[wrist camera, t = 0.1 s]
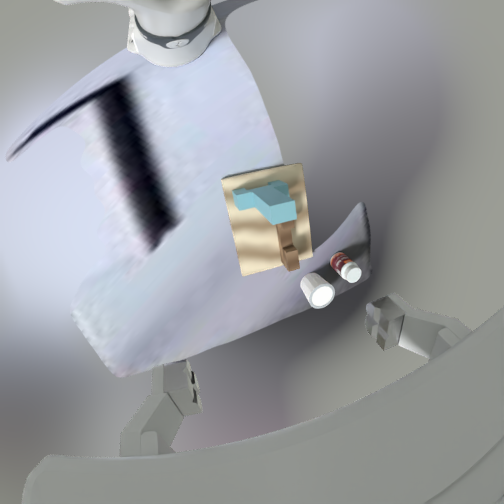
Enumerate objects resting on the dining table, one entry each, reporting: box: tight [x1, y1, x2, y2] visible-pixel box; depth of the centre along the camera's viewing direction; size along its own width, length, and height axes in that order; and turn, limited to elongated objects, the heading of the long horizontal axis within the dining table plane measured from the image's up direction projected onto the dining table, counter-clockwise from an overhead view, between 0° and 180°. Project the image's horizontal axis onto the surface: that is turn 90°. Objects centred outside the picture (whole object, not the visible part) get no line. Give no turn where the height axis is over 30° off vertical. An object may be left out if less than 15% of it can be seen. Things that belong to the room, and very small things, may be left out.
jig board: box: [221, 163, 313, 276], centre depth 58 cm, size 22×17×6 cm
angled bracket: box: [232, 180, 297, 225], centre depth 49 cm, size 3×10×16 cm, turn 101°
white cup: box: [301, 273, 335, 308], centre depth 67 cm, size 7×7×7 cm
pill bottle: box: [330, 252, 361, 283], centre depth 66 cm, size 5×5×8 cm
